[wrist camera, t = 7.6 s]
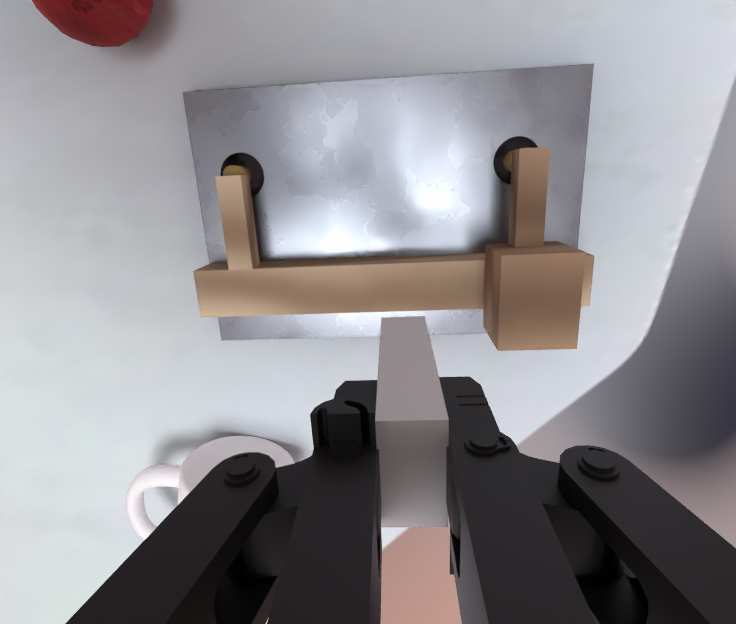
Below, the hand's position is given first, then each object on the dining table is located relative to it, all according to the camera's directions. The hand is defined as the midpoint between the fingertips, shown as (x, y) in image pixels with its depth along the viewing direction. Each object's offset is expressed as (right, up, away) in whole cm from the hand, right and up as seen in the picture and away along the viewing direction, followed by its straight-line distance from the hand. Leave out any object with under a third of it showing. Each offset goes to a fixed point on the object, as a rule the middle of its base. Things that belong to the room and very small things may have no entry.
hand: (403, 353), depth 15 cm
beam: (0, +7, +13) cm, 14 cm away
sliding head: (+8, +6, +12) cm, 16 cm away
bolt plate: (0, +8, +14) cm, 16 cm away
